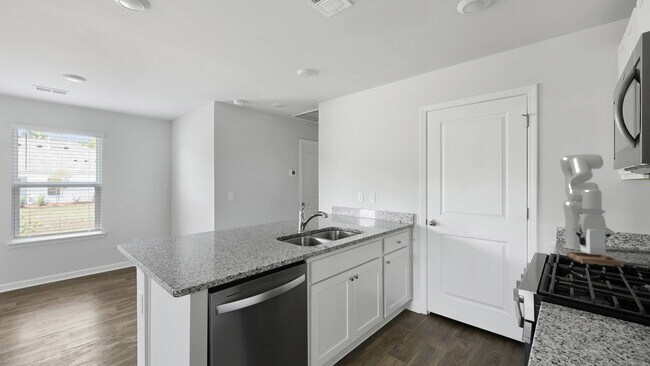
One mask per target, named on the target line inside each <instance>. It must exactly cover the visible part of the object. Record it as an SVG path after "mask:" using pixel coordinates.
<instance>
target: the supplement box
mask: <svg viewBox="0 0 650 366" xmlns="http://www.w3.org/2000/svg"><path fill="white" fill-rule="evenodd" d="M580 231H582V230H581V229H580ZM580 233H581V232H580ZM605 234H606V233H605V230H587V233H586V235H585V236H584V238H585V245H581V244H580V247H581V250H580V253H588V254H598V255H607V252H606V251H607V250H606V246H607V242H606V243H605Z"/></svg>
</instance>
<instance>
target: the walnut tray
mask: <svg viewBox="0 0 650 366" xmlns="http://www.w3.org/2000/svg"><path fill="white" fill-rule="evenodd" d="M565 256H566V257H567V256H569V257H568V258H570V257H571V258H570V259H572V260H574V261H577V262H578V263H580V264H582V265H586V264H585V263H586V262H588V263H589V264H588V265H593V264H598V266H606V265H607V266H608V267H616V266H615V265H620V266H621V267H620V268H623V267H624V266H625V264H624V261H623V260H621V259H618V258H614V257H612V256H609V255H607V254H606V255H598V254H588V253H585V252H581V251H580V252H579V251H566V255H565Z"/></svg>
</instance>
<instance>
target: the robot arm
mask: <svg viewBox="0 0 650 366" xmlns="http://www.w3.org/2000/svg"><path fill="white" fill-rule="evenodd" d="M559 163H560V168H561V170H562V172H563V176H564V186H565V188H564V189H565V193H566V197H567V199H566V200H564V201H563V203H562V204H563V212H564V221H565V223H564V224H565V225H564V226H565V244H563V245H562V248H564V249H568V250H575V251H581V247H580V244H581V245H585V238H584V236H585V235H586V233H587V230H605V243H606V244H607V240H608V238H609V237H611V235H612V234H613V233H614V231H613V230H612V229H610V228H608V227H607V225H606V220H605V217H604V215H603V214H605V213H606V210H603V206H602V204H603V203H602V202H603V201H602V200H603V199H602V198H603V194H602V193H603V192H602V190H601V189H600V187H599V185H598V184H597V183H595V182H589V181H590V180H591V179H592V178H593V176H594V175H593V171H592V170H596V169H597V170H598V169H601V168H602V167H603V166H604V159H603V157H602V156H601V155H599V154H595V153H594V154H593V153H591V154H590V153H588V154H569V155H568V154H567V155H564V156H563V157H561V158H560V161H559ZM580 229H581V230H582V231H580ZM580 232H581V233H580Z"/></svg>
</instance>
